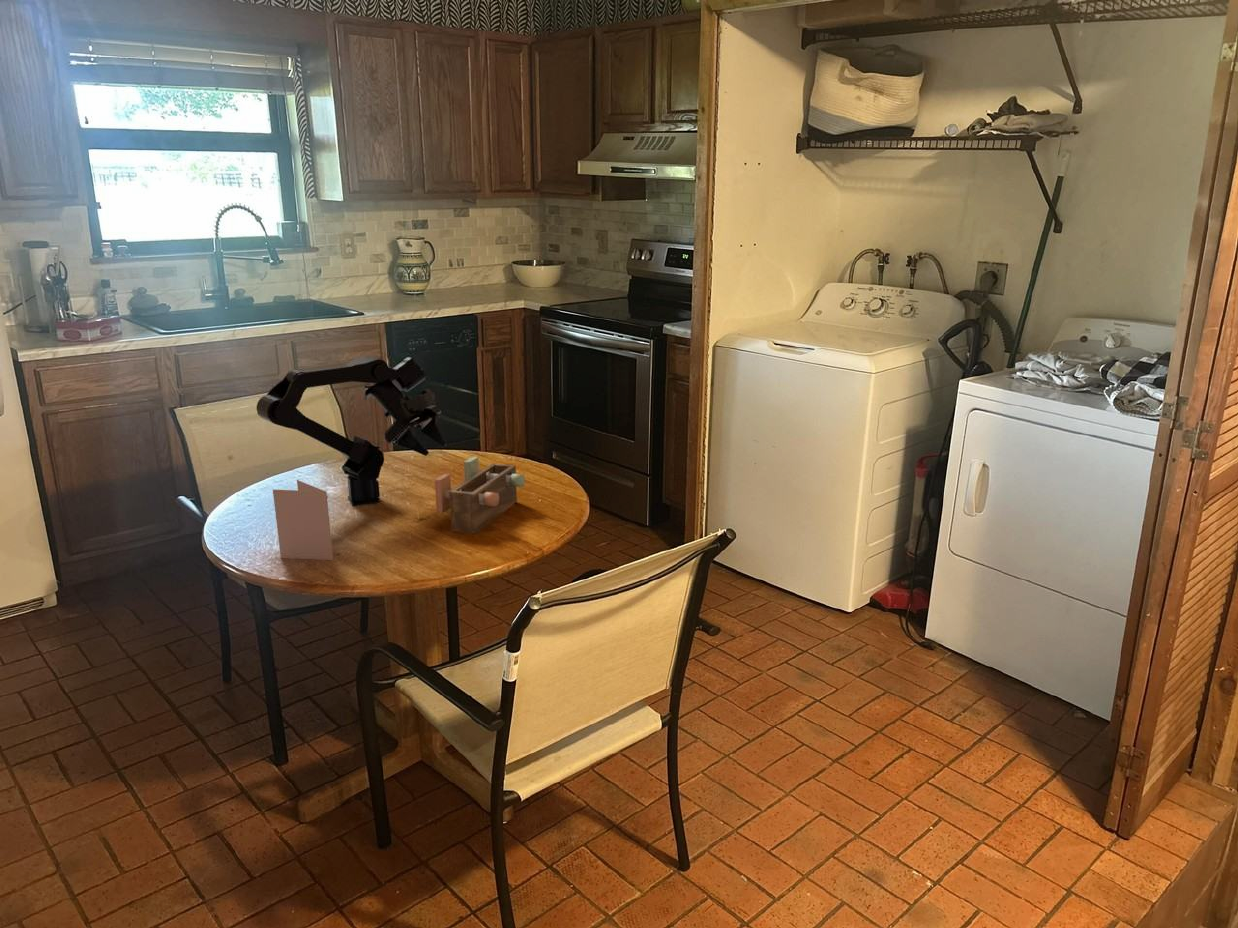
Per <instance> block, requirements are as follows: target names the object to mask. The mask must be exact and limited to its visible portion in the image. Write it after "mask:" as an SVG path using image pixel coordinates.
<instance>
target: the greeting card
mask: <svg viewBox="0 0 1238 928" xmlns="http://www.w3.org/2000/svg"><path fill="white" fill-rule="evenodd" d="M296 487H297V489H294V490H292V489H272V494H273V496H272V497H273V503H274V512H275V521H276V529H277V537H278V546H279V554H280V555H279V556H280V558H282V559H297V558H299V559H303V560H317V561H319V560H320V561H334V555H333V554H334V553H333V543H332V535H331V534H332V533H331V532H332V531H331V523H330V515H329V513H330V512H329V505H328V503H329V502H328V495H327V493H328V492H327V491H326V490H323V489H320V488H318V487H317V486H316V487H315V486H313V485H311V484H308V483H306V482H304V481H301V480H299V479H296ZM299 559H298V560H299Z"/></svg>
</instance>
